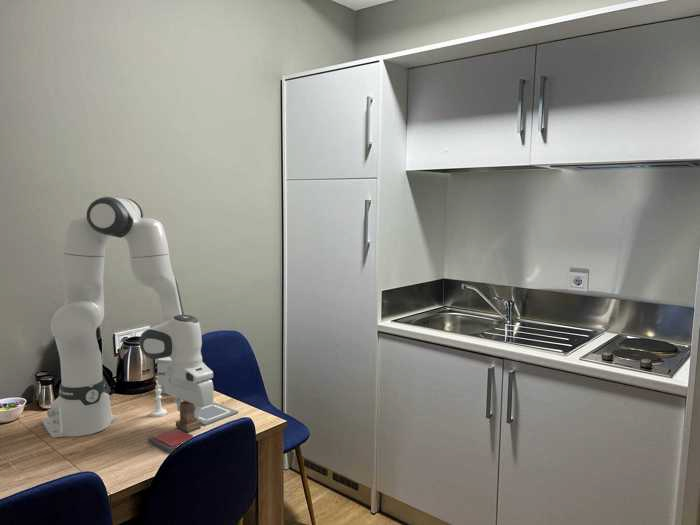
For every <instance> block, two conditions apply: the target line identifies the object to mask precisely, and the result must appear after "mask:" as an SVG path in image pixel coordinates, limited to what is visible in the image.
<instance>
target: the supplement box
mask: <svg viewBox="0 0 700 525" xmlns="http://www.w3.org/2000/svg"><path fill="white" fill-rule="evenodd" d="M170 364H172V362H171V358H170V357H166V358H160V359H157V360H156V366H157V368H156V370H157V384H159V386H161V387H160V388H159V389H161V390H162V391H161V394H166V392H165V374H166V372H167V367H168V366H169V365H170Z"/></svg>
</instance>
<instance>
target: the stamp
mask: <svg viewBox="0 0 700 525" xmlns="http://www.w3.org/2000/svg"><path fill="white" fill-rule="evenodd" d="M194 409H195V407H194V404H192V403H190V402H187V401H184V400H183V401H182V402H180V411H179V419H178V420H176V421H175V427H176V428H177V429H179V430H182V431H184V432H186V433H188V434H190V433H192V432H195V431H198V430H200V429H202V427H203V425H202V421H200V420H198V419H197V418H195V417H193V416H192V415H193V414H192V411H194Z"/></svg>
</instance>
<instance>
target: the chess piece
mask: <svg viewBox="0 0 700 525" xmlns="http://www.w3.org/2000/svg"><path fill="white" fill-rule="evenodd" d="M160 387H161V386H159V384H158V383H156V385H155V390H154V391H155V397H154V399H156V406H155V407H156V408H155V409H154V410H152V411H151V412H150V413H151V414H150V416H151V417H155V418H158V417H160V418H161V417H164V416H166V415H167V414H168V411H167V409H165V408H163V407H162V403H161V399H163V397H162V395H161V394H162V393H161V391H162V390H161V389H159V388H160Z"/></svg>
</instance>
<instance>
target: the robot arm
mask: <svg viewBox="0 0 700 525" xmlns="http://www.w3.org/2000/svg"><path fill="white" fill-rule="evenodd" d="M142 209H143V208H142V207H141V206H140V205H139V204H138V203H137V202H136V201H135V200H133V199H131V198H127V197H122V196H117V195H116V196H102V197H99V198H97V199H95V200H94V201H92V202H91V203H90V204H89V205H88V208H87V209H86V216H85V215H83V216H77V217H75V218H73V219H72V220H70V221H69V224H68V225H67V230H66V232H65V237H64V243H63V249H62V250H63V251H62V252H63V253H62V262H61V263H62V264H61V265H62V266H61V279H60V280H61V282H62V285H63V293H64V303H63V306H62V307H59V308H58V310H56V311H55V312H54V314H53V317H52V318H51V322H50V327H49V328H50V332H51V334H52V336H53V337H54V340H55V345H56V347H57V352H58V356H59V360H60V361H59V363H60V376H61V378H60V379H61V382H60V383H59V389H58V391H59V392H58V397H57V398H56V399H55V400H54V401H52V402H51V404H50V408H49V409H47V411H46V414H47V415H46V417H45V418H43V419H42V421H41V422H42V425H43V427H44V428H45V429H46V431H47V432H48V434H49V435H50V437H51V438H62V437H82V436H88V435H92V434H95V433H99V432H101V431H104V430H105V429H107V428H108V427H109V426H110V425H111V423H112V422H113V421H114V420H115V419H116V418H117V417H116V414H115V413H112V409H111V401H110V394H109V393H107V392H105V391H106V382H105V379H104V378H103V376H104V375H103V358H102V352H101V350H100V347H99V343H98V338H97V329H98V328H99V327H100V326H101V324H103V321H104V318H105V297H104V296H105V295H104V294H105V293H104V292H105V291H104V272H105V271H104V270H105V259H106V246H107V241H108V240H109V238H110V237H115V238H120V239H121V238H123V239H124V240H126V243H127V246H128V254H129V262H130V269H131V272H132V276H133V277H134V279H135V280H136V282H138V283H140V284H142V285H143V286H147V287H149V288H151V289H152V290H154V292H156V294H157V296H158V300H159V303H160V308H161V313H162V317H163V319H162V322H161V323H160V324H157V325H153V326H152V327H150V328H147V329H146V330H143V332H142V333H141V335H140V336H139V339H138V340H139V342H138V344H139V345H138V346H139V348H140V351H141V352H142V354H143V355H144V356H145V357H146V358H148V359H151V360H156V359H157V360H158V359H160V358H166V357H170V358H171V362H172V364H170V365H169V366H168V367H167V372H166V374H165V392H166V393H165V394H167V395H170V396H172V397H174V401H175V404H176V406H177V408H176V409H177V411H178V412H180V402H182V401H187V402H190V403H192V404H194V407H195V409H194V411H192V414H193V415H192V416H193V417H195V418H198V417H200V411H201V408H202V407H206V406H209V405H211V404H212V403H213V402H214V397H215V396H214V391H215V390H214V383H213V380H212V379H213V378H214V371H213V370H212V369H211V368H210V367H208V366H207V365H206V364H205V362H203V355H202V352H201V351H202V346H203V341H202V340H203V339H202V330H201V324H200V322H199V319H198V318H197V317H195V316H193V315H188V314H185V313H184V308H183V304H182V299H181V293H180V289H179V285H178V282H177V278H176V276H175V274H174V272H173V268H172V264H171V257H170V249H169V243H168V239H167V234H166V231H165V229H164V226H163V224H162V222H160V221H159V220H157V219H155V218H150V217H144V213H143V210H142Z"/></svg>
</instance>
